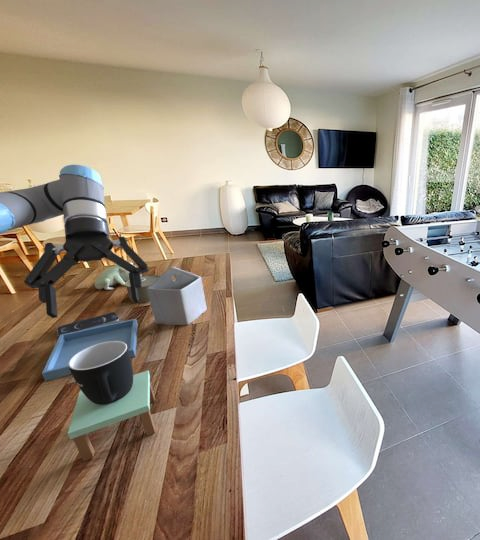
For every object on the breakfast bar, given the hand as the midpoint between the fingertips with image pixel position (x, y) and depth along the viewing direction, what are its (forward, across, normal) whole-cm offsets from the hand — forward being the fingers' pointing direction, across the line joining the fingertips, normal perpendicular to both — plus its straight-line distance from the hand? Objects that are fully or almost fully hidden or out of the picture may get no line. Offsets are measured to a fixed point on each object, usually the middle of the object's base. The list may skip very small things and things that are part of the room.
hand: (96, 307), depth 62 cm
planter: (-4, -15, -39) cm, 42 cm away
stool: (+25, 0, -10) cm, 26 cm away
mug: (+19, 0, -4) cm, 20 cm away
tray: (-1, +8, -35) cm, 36 cm away
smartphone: (-13, +12, -47) cm, 50 cm away
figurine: (-37, +6, -72) cm, 81 cm away
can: (-24, -4, -58) cm, 63 cm away
